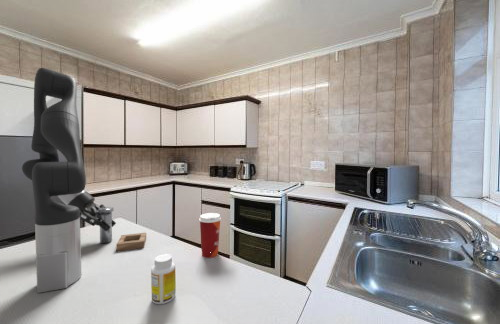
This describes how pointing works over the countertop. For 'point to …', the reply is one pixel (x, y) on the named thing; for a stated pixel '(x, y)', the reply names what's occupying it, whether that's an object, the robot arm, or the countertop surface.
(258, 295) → the countertop surface
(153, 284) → the supplement bottle
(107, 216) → the pin
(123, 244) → the collar block
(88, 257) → the countertop surface
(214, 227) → the paper cup
